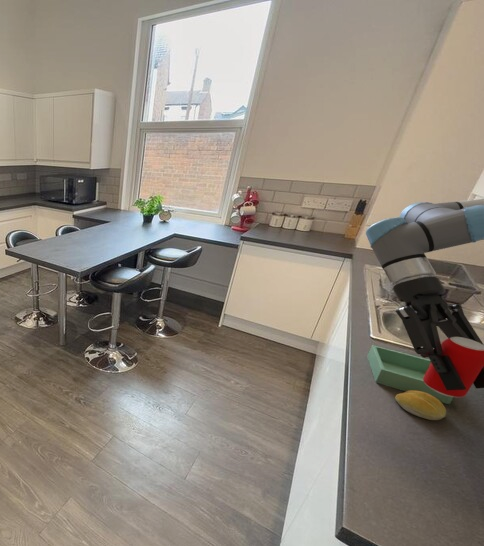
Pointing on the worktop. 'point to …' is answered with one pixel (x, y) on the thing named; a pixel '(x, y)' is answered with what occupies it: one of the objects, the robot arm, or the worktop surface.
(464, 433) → the worktop surface
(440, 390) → the beverage can
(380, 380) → the bin
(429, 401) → the bread roll
